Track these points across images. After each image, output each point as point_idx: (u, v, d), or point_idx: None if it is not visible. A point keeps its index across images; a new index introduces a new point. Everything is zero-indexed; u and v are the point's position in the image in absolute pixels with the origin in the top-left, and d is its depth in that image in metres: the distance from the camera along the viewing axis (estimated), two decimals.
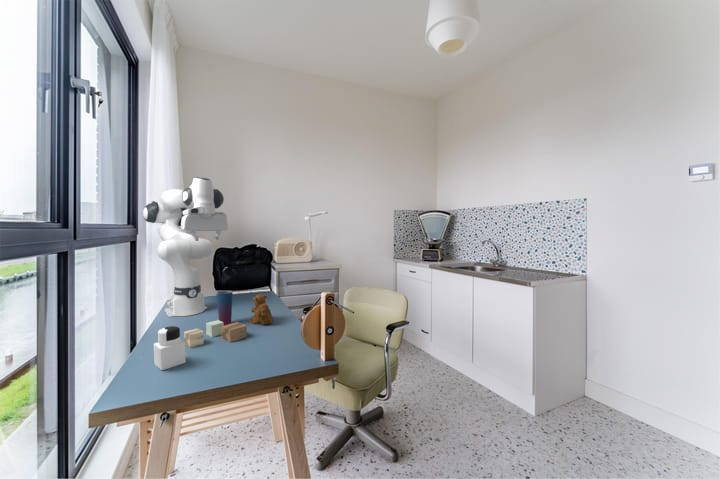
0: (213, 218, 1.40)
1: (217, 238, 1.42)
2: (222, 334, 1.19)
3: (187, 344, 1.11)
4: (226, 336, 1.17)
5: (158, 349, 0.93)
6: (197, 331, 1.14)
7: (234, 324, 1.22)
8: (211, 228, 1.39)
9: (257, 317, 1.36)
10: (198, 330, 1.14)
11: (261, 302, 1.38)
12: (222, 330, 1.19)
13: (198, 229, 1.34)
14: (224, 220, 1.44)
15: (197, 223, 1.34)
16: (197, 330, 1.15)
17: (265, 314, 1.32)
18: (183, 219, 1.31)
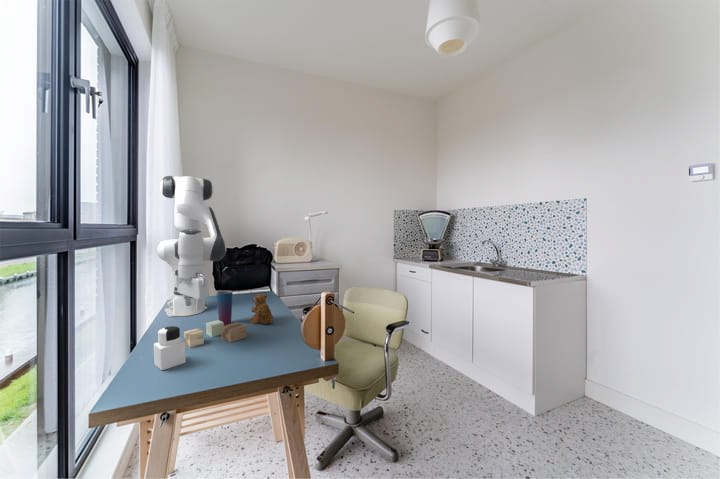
0: (191, 282, 1.09)
1: (196, 308, 1.09)
2: (222, 334, 1.19)
3: (187, 344, 1.11)
4: (226, 336, 1.17)
5: (158, 349, 0.93)
6: (197, 331, 1.14)
7: (234, 324, 1.22)
8: (189, 294, 1.10)
9: (257, 317, 1.36)
10: (198, 330, 1.14)
11: (261, 302, 1.38)
12: (222, 330, 1.19)
13: (183, 293, 1.14)
14: (196, 286, 1.06)
15: (183, 286, 1.14)
16: (197, 330, 1.15)
17: (265, 314, 1.33)
18: None
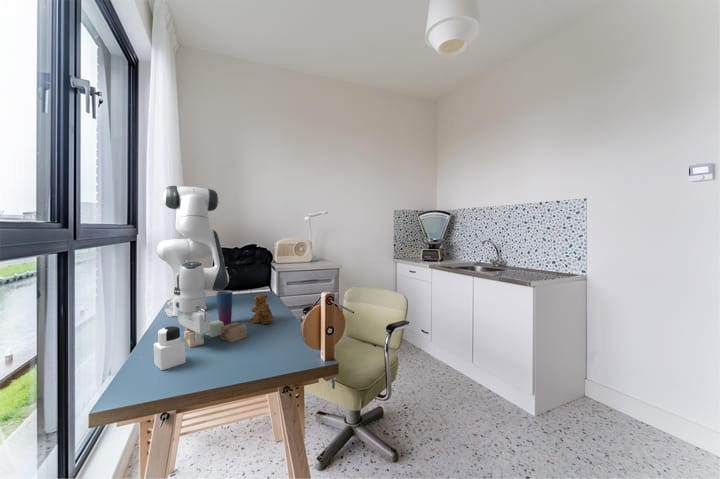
0: (191, 316, 1.10)
1: (195, 340, 1.11)
2: (222, 334, 1.19)
3: (187, 344, 1.11)
4: (227, 336, 1.17)
5: (158, 349, 0.93)
6: None
7: (234, 324, 1.22)
8: (190, 328, 1.11)
9: (258, 317, 1.36)
10: None
11: (262, 302, 1.38)
12: (222, 330, 1.19)
13: (184, 325, 1.14)
14: (197, 321, 1.07)
15: (183, 318, 1.14)
16: None
17: (266, 314, 1.33)
18: None
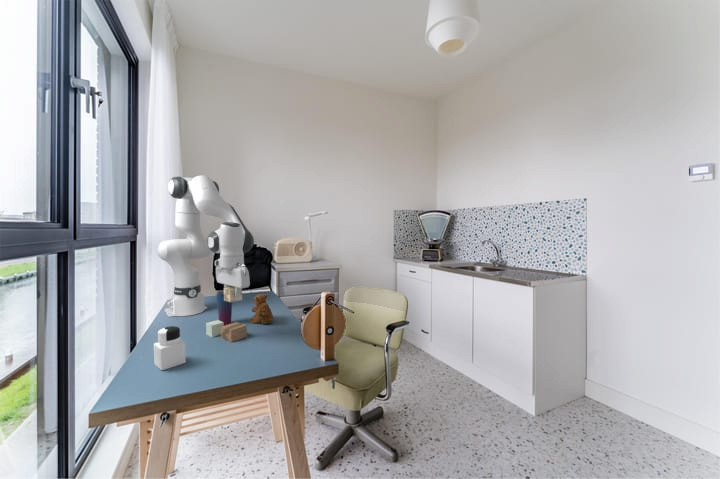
0: (232, 272, 1.15)
1: (234, 295, 1.16)
2: (222, 334, 1.18)
3: (227, 299, 1.17)
4: (227, 336, 1.17)
5: (158, 349, 0.93)
6: None
7: (234, 324, 1.22)
8: (230, 283, 1.16)
9: (258, 317, 1.36)
10: None
11: (262, 302, 1.38)
12: (222, 330, 1.18)
13: (223, 283, 1.20)
14: (238, 276, 1.12)
15: (223, 276, 1.20)
16: None
17: (266, 314, 1.33)
18: None
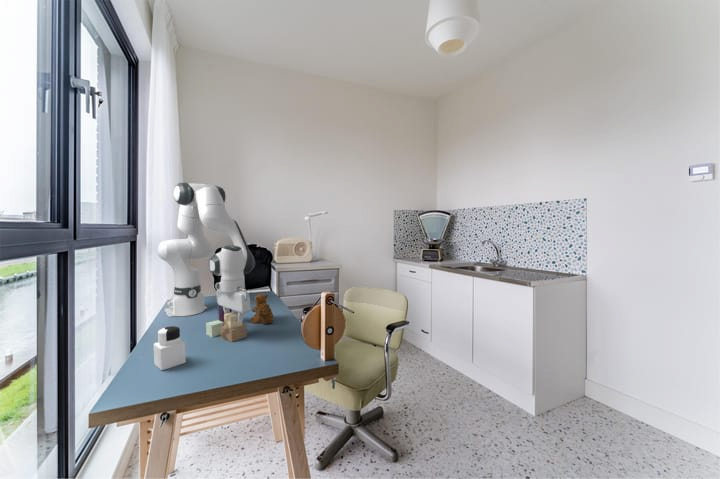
0: (233, 296, 1.16)
1: (237, 320, 1.16)
2: (222, 334, 1.18)
3: (227, 325, 1.18)
4: (227, 336, 1.17)
5: (158, 349, 0.93)
6: (236, 313, 1.20)
7: None
8: (231, 307, 1.17)
9: (258, 316, 1.37)
10: (237, 313, 1.21)
11: (262, 301, 1.39)
12: (222, 330, 1.18)
13: (224, 306, 1.21)
14: (239, 300, 1.13)
15: (223, 299, 1.21)
16: (235, 312, 1.21)
17: (266, 313, 1.34)
18: None
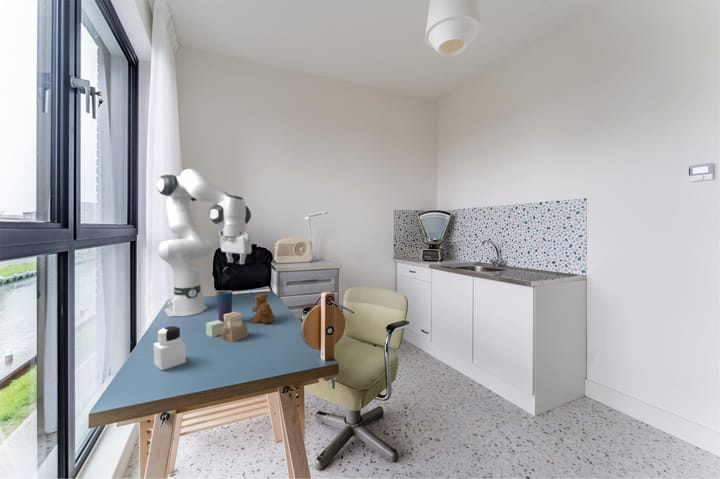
0: (235, 240, 1.27)
1: (239, 262, 1.27)
2: (222, 335, 1.18)
3: (227, 326, 1.17)
4: (227, 336, 1.16)
5: (158, 349, 0.93)
6: (235, 313, 1.20)
7: None
8: (234, 251, 1.28)
9: (258, 316, 1.37)
10: (236, 313, 1.20)
11: (262, 301, 1.39)
12: (222, 331, 1.18)
13: (227, 251, 1.31)
14: (241, 243, 1.23)
15: (227, 245, 1.31)
16: (235, 313, 1.21)
17: (267, 313, 1.34)
18: None
